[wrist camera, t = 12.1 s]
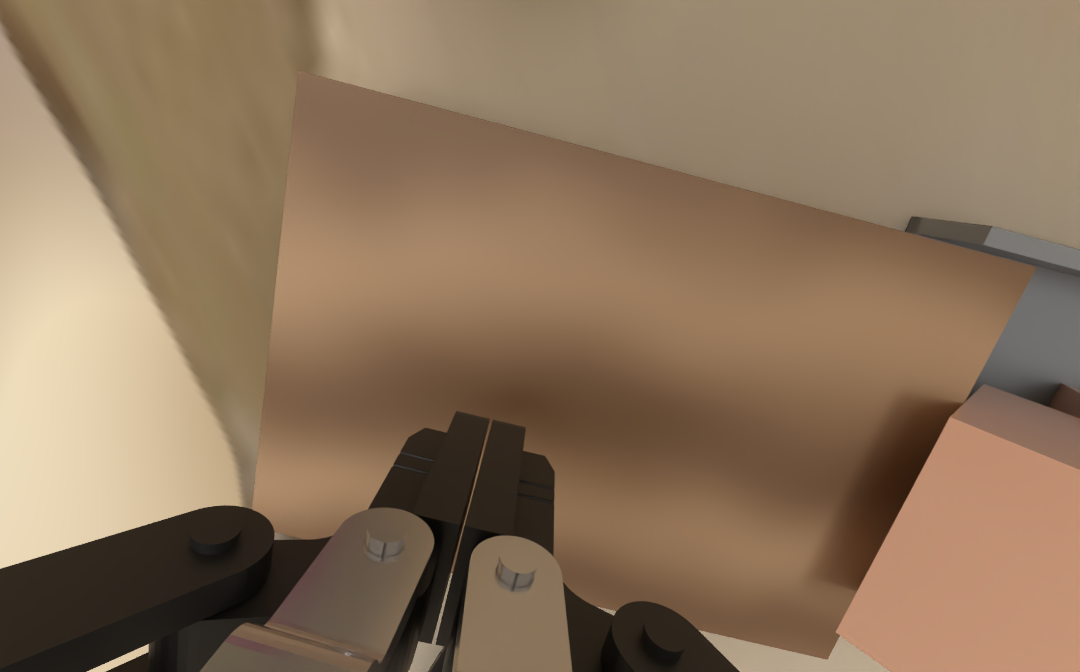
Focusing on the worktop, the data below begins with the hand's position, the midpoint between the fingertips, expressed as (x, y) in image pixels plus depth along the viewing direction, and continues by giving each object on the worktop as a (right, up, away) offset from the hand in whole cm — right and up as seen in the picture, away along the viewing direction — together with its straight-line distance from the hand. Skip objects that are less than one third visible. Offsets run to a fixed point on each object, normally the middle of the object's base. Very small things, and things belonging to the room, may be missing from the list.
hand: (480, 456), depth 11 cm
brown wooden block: (+3, +2, +11) cm, 12 cm away
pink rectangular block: (+14, -3, +6) cm, 15 cm away
